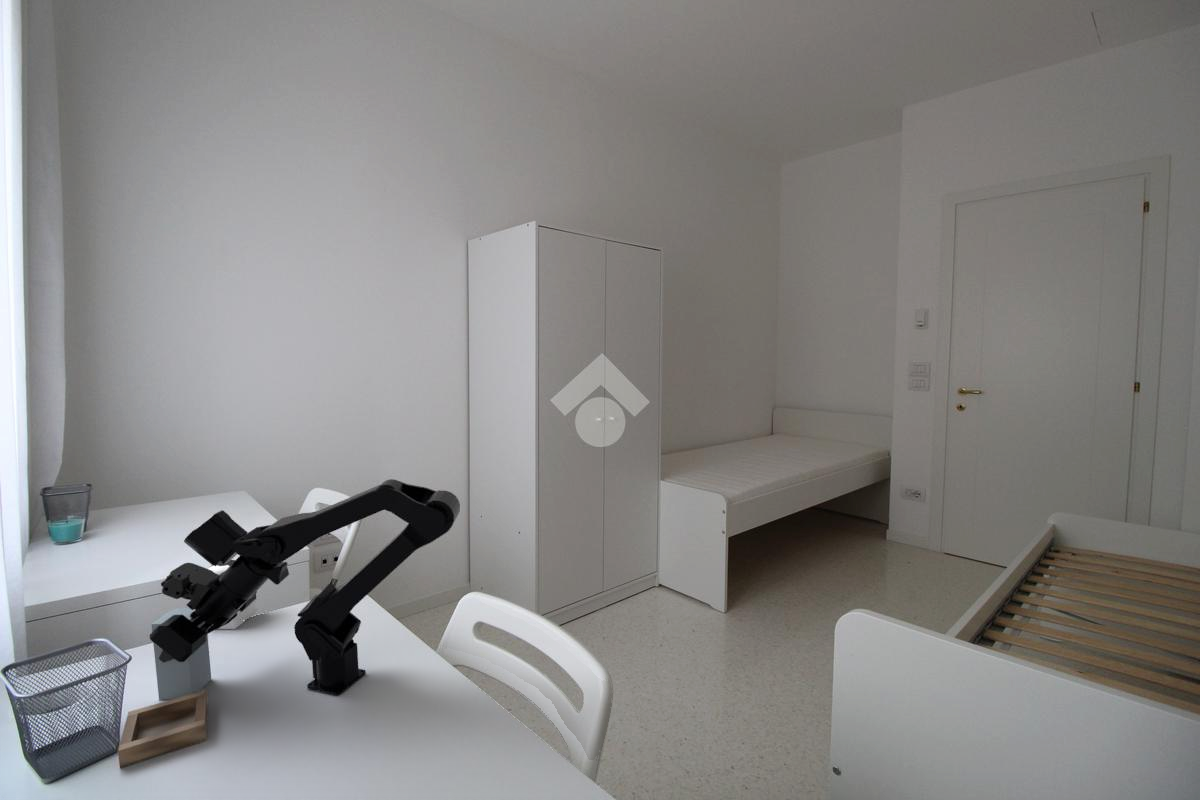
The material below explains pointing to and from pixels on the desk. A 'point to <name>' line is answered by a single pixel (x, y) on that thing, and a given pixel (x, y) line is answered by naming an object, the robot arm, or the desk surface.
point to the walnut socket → (163, 728)
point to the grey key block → (181, 666)
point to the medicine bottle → (240, 615)
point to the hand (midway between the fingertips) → (173, 650)
